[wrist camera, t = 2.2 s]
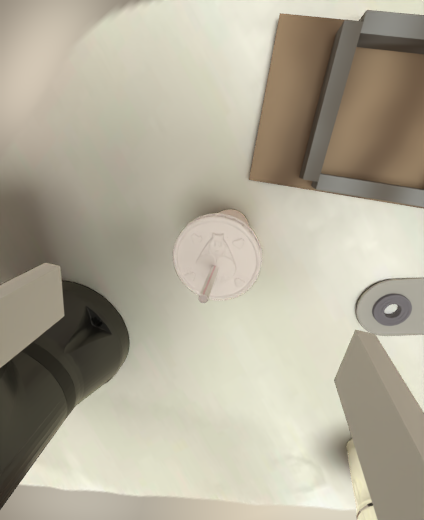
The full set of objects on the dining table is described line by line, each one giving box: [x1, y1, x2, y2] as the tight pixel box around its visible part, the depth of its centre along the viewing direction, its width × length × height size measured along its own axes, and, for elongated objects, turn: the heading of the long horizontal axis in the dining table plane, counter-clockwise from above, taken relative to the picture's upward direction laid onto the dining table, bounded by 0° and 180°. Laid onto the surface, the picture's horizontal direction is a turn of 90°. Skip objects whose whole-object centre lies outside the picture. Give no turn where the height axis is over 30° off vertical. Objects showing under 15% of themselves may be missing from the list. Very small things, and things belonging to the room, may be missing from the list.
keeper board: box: [249, 10, 424, 208], centre depth 21 cm, size 20×12×4 cm, turn 82°
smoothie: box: [173, 209, 262, 303], centre depth 21 cm, size 6×6×14 cm
